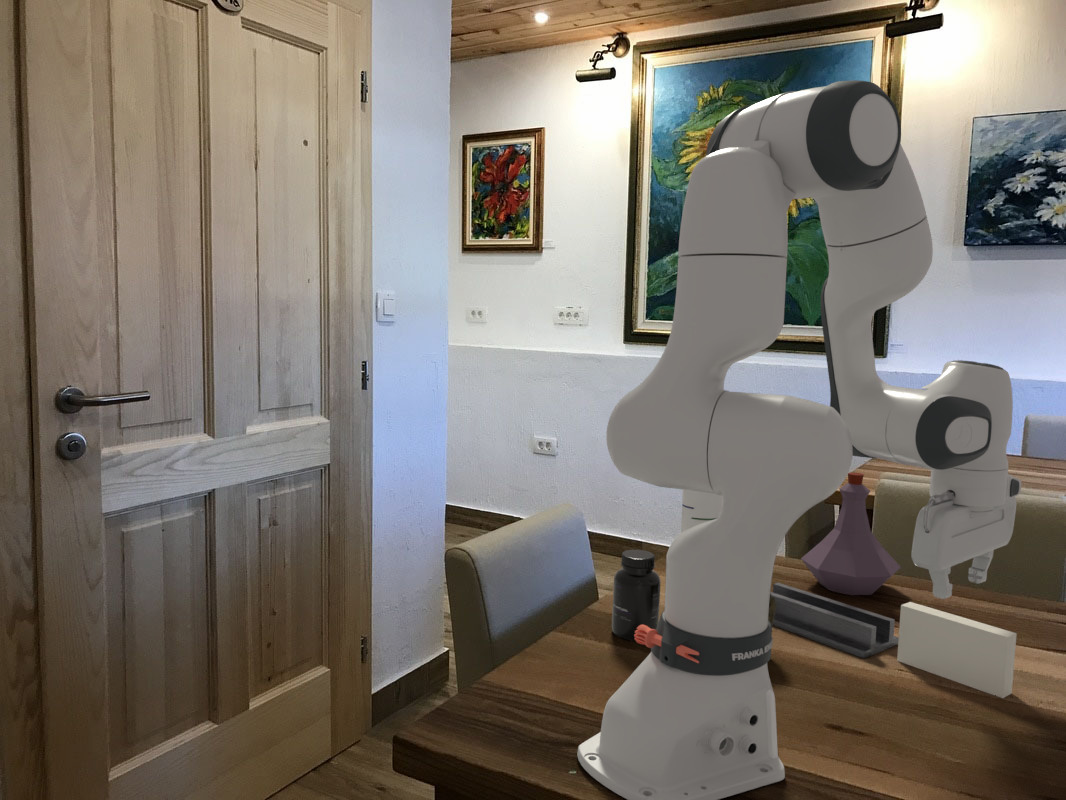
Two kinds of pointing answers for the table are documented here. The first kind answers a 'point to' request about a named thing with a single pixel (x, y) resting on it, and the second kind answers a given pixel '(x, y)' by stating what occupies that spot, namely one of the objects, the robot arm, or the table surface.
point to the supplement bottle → (635, 594)
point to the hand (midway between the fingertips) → (959, 589)
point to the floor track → (832, 622)
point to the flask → (851, 548)
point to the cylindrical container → (699, 508)
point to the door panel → (957, 648)
